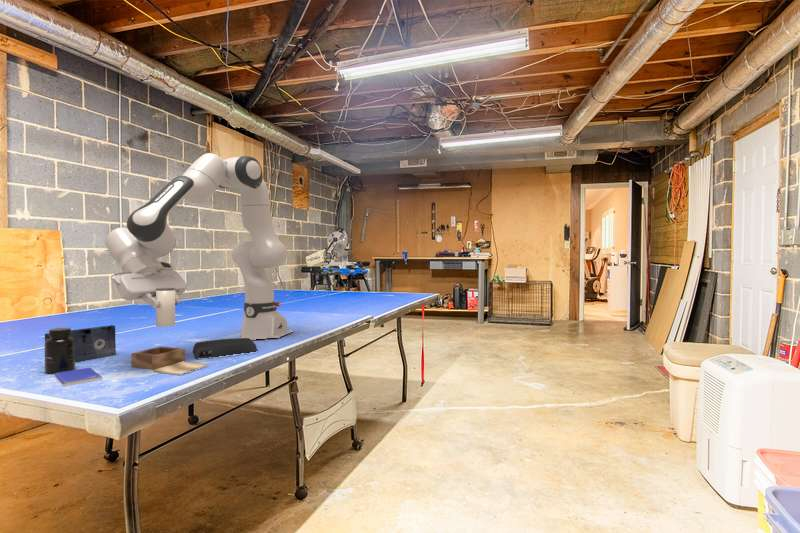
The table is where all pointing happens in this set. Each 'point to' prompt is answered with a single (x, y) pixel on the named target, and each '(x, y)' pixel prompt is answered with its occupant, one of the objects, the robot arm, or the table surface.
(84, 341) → the vhs cassette tape
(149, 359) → the block
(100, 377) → the blue book
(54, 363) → the supplement bottle
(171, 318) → the beige cylinder
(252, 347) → the external hard drive
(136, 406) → the table surface
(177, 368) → the pad
